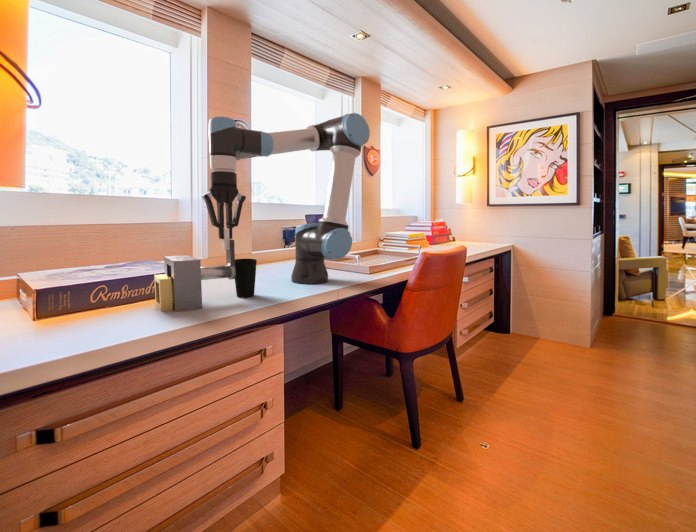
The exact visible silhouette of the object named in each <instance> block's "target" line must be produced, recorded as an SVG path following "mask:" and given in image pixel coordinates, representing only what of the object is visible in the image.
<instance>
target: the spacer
mask: <svg viewBox="0 0 696 532" xmlns="http://www.w3.org/2000/svg"><path fill="white" fill-rule="evenodd" d="M153 276H154V277H153V278H154V296H155V297H154V299H155V306H156V307H157V309H158V310H159V311H160V312H161V313H162V312H168V311H173V310H174V309H173V299H172V279H171V278H170V277H169V276H167V275H166V274H165V273H163V274H162V273H161V274H160V273H159V274H154V275H153Z"/></svg>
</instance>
